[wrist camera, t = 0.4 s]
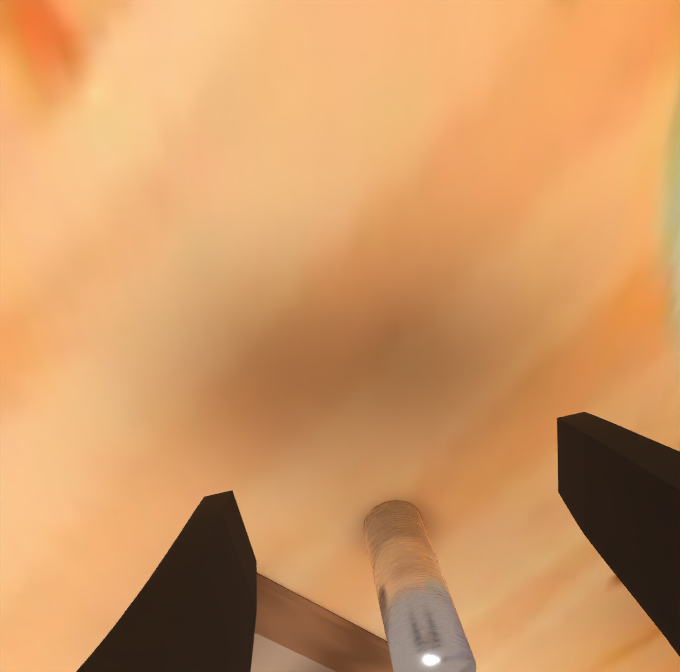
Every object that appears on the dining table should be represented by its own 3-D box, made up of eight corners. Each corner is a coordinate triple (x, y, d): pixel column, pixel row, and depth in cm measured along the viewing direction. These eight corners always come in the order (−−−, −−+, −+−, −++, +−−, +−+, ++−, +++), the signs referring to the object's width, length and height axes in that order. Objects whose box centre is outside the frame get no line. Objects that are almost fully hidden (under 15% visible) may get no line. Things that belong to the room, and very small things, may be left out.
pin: (433, 519, 23) (492, 665, 16) (393, 556, 23) (435, 711, 17) (391, 491, 22) (436, 634, 16) (351, 530, 23) (378, 683, 16)
